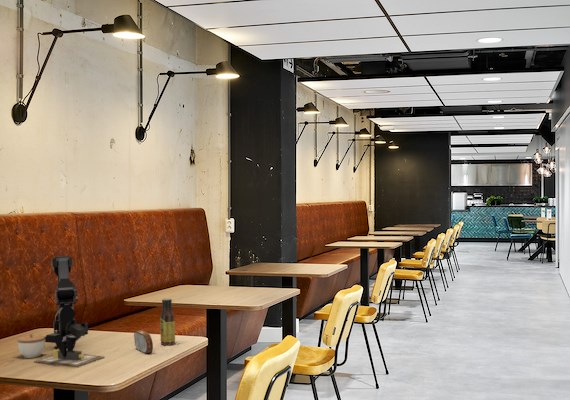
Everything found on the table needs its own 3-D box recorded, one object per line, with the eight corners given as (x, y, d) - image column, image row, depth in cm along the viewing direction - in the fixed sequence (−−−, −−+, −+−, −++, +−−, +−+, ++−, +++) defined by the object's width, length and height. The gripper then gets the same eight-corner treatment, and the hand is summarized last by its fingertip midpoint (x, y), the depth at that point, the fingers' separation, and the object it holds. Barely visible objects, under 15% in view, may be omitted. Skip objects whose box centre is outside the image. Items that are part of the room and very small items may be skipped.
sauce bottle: (161, 343, 325) (160, 297, 325) (175, 342, 326) (174, 297, 325) (160, 346, 318) (158, 300, 318) (174, 345, 319) (173, 299, 319)
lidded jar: (51, 354, 309) (50, 331, 309) (34, 360, 299) (33, 336, 298) (29, 352, 312) (28, 330, 312) (12, 358, 302) (11, 335, 302)
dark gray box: (53, 358, 298) (53, 350, 298) (58, 356, 301) (58, 348, 301) (80, 360, 292) (80, 353, 292) (85, 359, 295) (85, 351, 295)
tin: (153, 354, 304) (153, 333, 304) (146, 355, 302) (145, 334, 302) (140, 348, 317) (139, 328, 316) (133, 349, 315) (132, 329, 315)
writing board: (34, 362, 294) (34, 360, 294) (62, 353, 309) (62, 352, 309) (77, 367, 285) (77, 365, 285) (104, 357, 299) (104, 356, 299)
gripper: (65, 322, 285) (66, 363, 285) (97, 314, 301) (98, 352, 302) (43, 320, 290) (44, 360, 290) (76, 312, 306) (77, 350, 307)
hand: (67, 356), depth 297 cm, fingers closed on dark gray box, 3 cm apart
